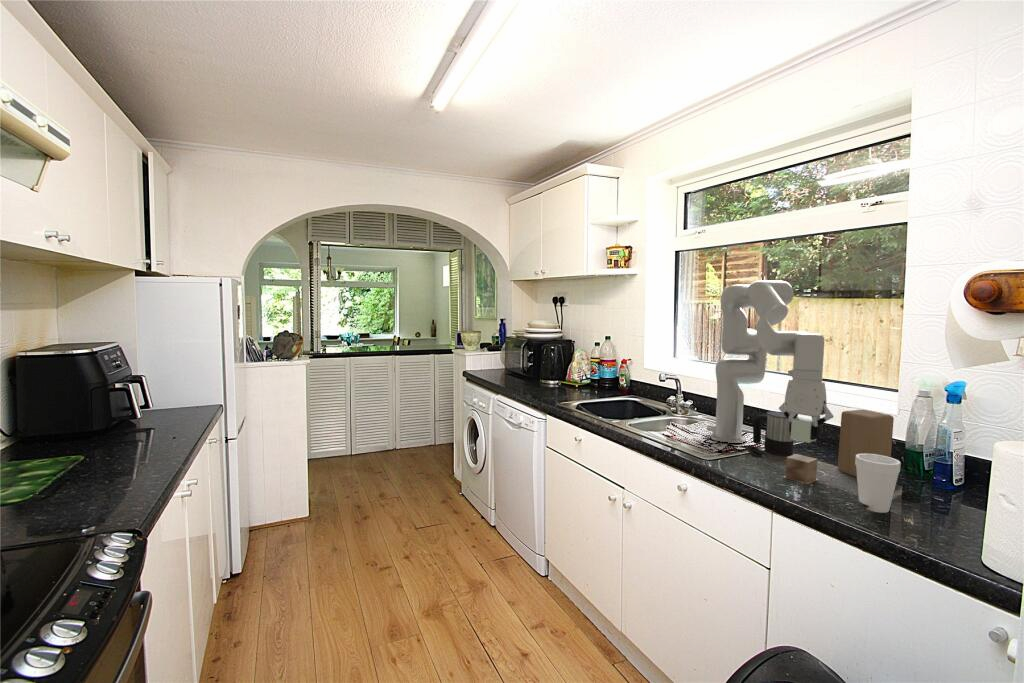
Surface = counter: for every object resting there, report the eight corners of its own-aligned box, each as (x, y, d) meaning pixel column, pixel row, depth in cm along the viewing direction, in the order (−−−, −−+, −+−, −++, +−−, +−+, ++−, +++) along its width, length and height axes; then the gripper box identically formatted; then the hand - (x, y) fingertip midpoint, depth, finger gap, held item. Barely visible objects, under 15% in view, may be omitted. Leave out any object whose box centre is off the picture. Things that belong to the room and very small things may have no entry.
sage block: (790, 439, 151) (791, 418, 150) (798, 436, 154) (799, 416, 154) (808, 442, 147) (809, 422, 147) (816, 440, 150) (817, 420, 150)
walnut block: (785, 477, 152) (786, 457, 152) (794, 473, 156) (796, 453, 155) (806, 482, 147) (808, 462, 147) (816, 478, 151) (817, 458, 151)
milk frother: (795, 455, 179) (798, 413, 178) (790, 466, 166) (792, 421, 165) (751, 448, 187) (753, 408, 186) (742, 458, 174) (745, 415, 173)
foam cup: (898, 507, 134) (902, 459, 133) (894, 518, 127) (898, 467, 126) (855, 497, 140) (858, 451, 139) (849, 507, 133) (852, 458, 132)
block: (857, 470, 164) (862, 408, 162) (890, 480, 154) (895, 415, 153) (835, 473, 160) (840, 410, 158) (867, 484, 151) (872, 417, 149)
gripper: (771, 373, 154) (768, 432, 155) (834, 380, 140) (830, 445, 141) (783, 371, 158) (780, 429, 159) (845, 378, 145) (841, 441, 146)
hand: (803, 436), depth 150 cm, fingers closed on sage block, 5 cm apart
